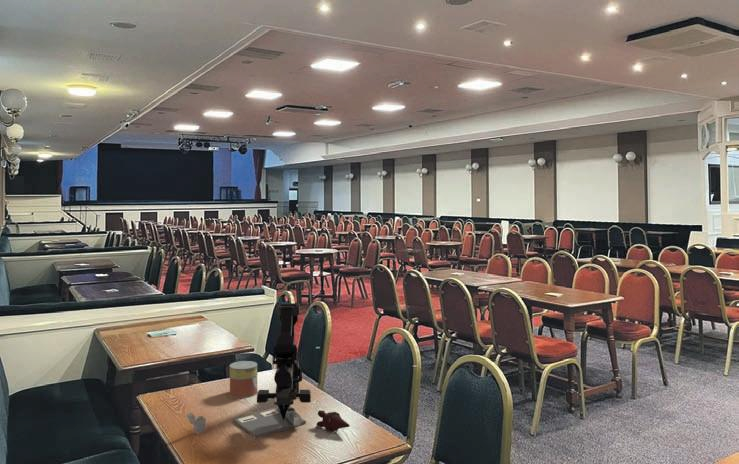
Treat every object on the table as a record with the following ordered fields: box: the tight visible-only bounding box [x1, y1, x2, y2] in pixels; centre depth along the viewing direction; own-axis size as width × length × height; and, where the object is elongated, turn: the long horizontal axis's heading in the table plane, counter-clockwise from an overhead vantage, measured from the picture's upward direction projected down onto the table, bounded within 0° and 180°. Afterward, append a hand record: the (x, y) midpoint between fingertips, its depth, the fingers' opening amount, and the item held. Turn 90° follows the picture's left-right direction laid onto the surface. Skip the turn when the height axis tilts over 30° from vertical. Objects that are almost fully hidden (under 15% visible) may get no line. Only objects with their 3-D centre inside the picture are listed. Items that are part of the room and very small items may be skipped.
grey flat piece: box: [186, 412, 207, 435], centre depth 192 cm, size 7×2×8 cm, turn 151°
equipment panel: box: [231, 406, 307, 439], centre depth 201 cm, size 20×18×1 cm
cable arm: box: [277, 404, 302, 427], centre depth 203 cm, size 18×3×3 cm, turn 28°
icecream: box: [316, 409, 351, 433], centre depth 194 cm, size 7×7×15 cm
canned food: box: [228, 360, 259, 399], centre depth 230 cm, size 11×11×12 cm
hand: (283, 419), depth 198 cm, fingers closed
